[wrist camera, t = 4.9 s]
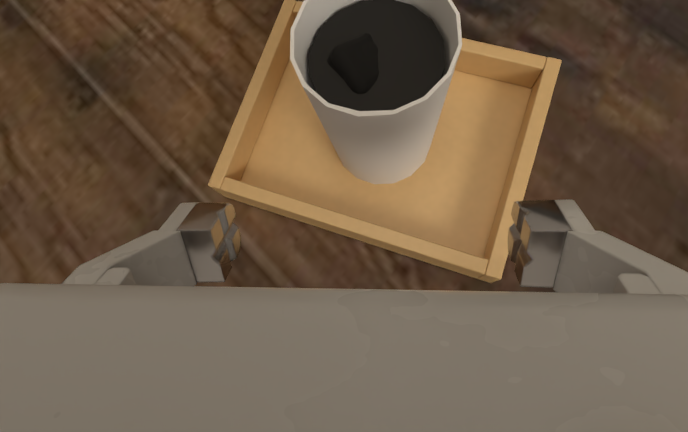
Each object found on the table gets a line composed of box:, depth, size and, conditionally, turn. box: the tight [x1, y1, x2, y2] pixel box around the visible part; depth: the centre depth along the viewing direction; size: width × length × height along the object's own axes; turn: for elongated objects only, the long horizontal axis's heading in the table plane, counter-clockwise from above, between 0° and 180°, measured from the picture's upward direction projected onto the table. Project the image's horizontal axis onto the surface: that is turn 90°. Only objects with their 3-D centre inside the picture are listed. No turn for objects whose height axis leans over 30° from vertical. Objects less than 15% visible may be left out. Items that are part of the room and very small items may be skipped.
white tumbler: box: [290, 0, 462, 184], centre depth 22 cm, size 7×7×10 cm
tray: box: [208, 0, 562, 283], centre depth 25 cm, size 17×13×2 cm
